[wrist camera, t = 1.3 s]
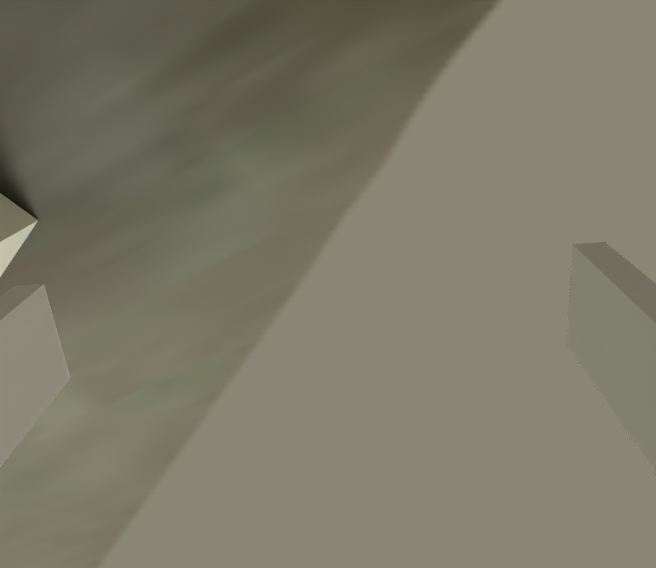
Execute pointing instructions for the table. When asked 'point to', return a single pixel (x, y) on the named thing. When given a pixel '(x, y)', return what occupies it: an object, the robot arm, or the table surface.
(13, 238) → the cream open box
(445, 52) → the table surface
